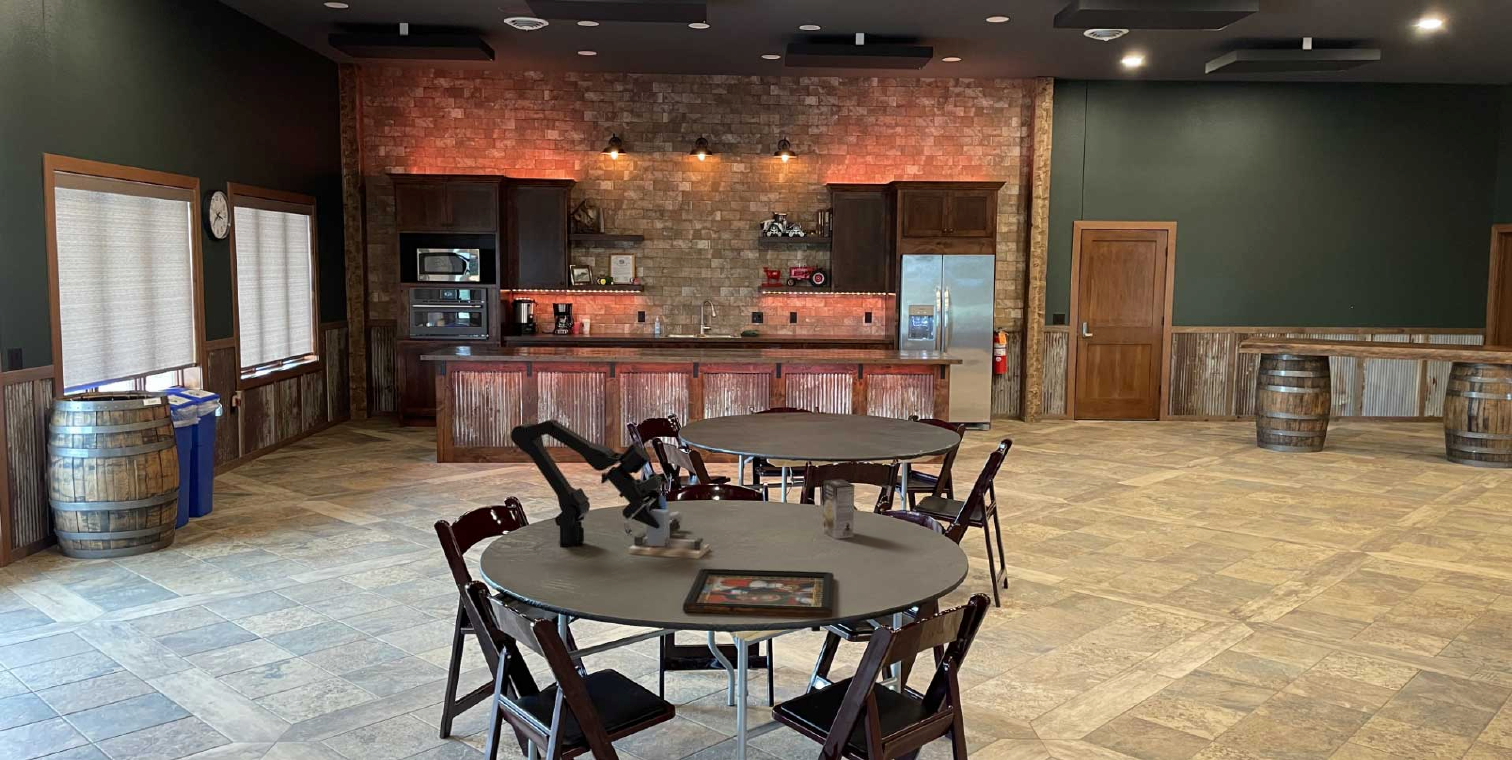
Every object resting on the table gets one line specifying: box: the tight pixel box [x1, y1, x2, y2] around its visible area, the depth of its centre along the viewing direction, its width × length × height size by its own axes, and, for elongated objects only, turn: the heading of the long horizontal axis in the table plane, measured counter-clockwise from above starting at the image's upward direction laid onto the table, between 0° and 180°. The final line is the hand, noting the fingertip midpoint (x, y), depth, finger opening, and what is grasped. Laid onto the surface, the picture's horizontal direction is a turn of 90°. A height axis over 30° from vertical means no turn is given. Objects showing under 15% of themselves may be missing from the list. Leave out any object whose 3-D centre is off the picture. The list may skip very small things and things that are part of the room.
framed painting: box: [682, 568, 835, 618], centre depth 260 cm, size 38×35×3 cm
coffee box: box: [822, 478, 855, 540], centre depth 318 cm, size 9×6×16 cm
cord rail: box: [628, 533, 710, 560], centre depth 299 cm, size 20×11×4 cm, turn 75°
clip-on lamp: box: [623, 511, 683, 533], centre depth 321 cm, size 12×6×18 cm
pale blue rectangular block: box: [646, 509, 671, 546], centre depth 299 cm, size 5×5×9 cm
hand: (663, 524), depth 299 cm, fingers open, 7 cm apart
